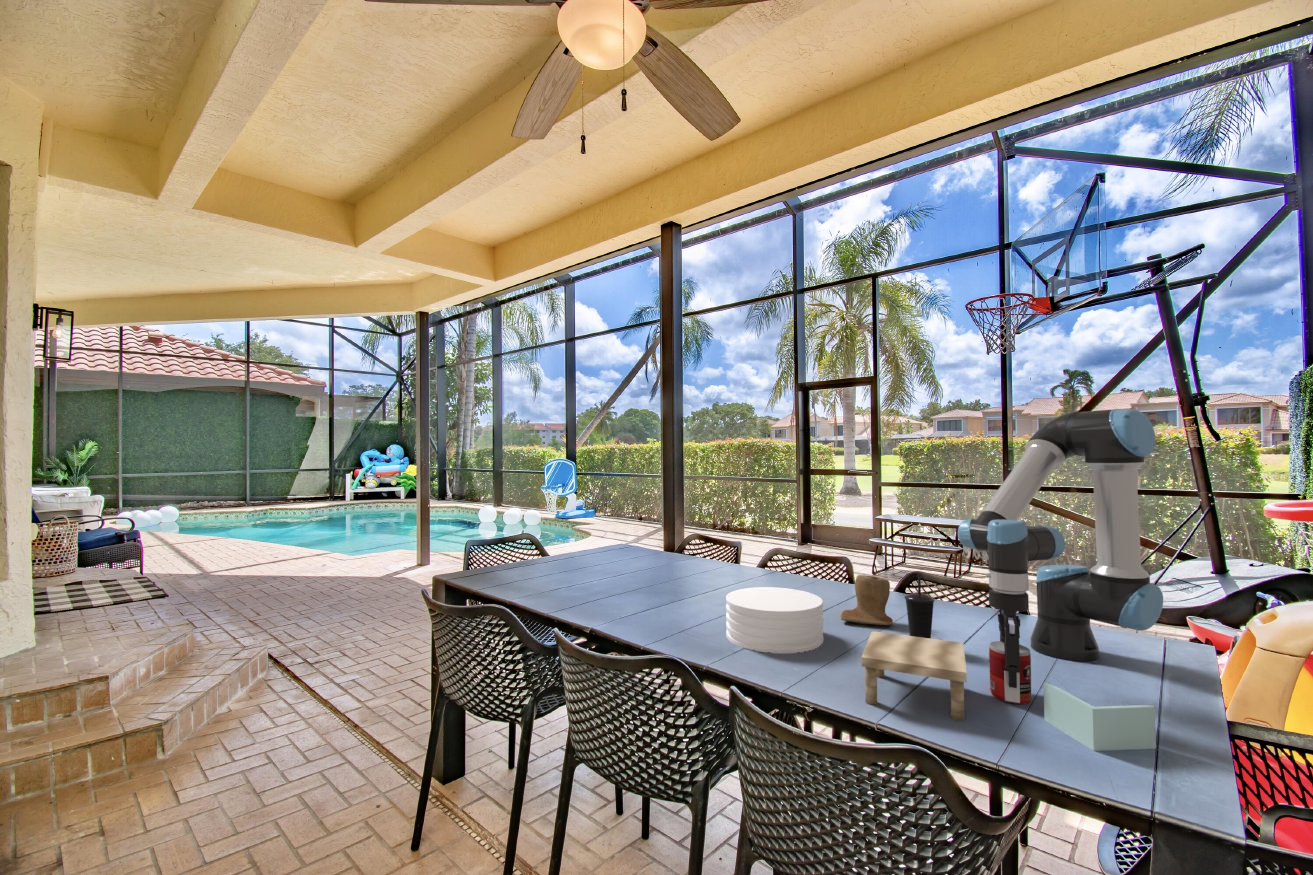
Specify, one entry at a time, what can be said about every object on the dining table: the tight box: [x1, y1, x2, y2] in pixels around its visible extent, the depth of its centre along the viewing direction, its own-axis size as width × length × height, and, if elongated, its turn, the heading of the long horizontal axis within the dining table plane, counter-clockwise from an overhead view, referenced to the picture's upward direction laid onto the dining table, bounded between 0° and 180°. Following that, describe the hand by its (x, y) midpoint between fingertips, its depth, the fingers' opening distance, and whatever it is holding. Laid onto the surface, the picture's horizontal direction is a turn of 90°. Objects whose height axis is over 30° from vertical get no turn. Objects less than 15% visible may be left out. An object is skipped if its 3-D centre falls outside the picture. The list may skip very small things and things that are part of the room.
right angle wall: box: [1043, 682, 1157, 752], centre depth 110 cm, size 12×12×8 cm
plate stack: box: [725, 586, 824, 654], centre depth 168 cm, size 28×28×12 cm
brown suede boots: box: [840, 574, 894, 626], centre depth 182 cm, size 15×12×15 cm
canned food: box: [988, 640, 1032, 705], centre depth 126 cm, size 8×8×11 cm
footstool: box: [861, 630, 968, 721], centre depth 127 cm, size 20×20×10 cm
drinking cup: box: [904, 574, 936, 639], centre depth 159 cm, size 8×8×20 cm
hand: (1010, 693), depth 126 cm, fingers closed on canned food, 8 cm apart
